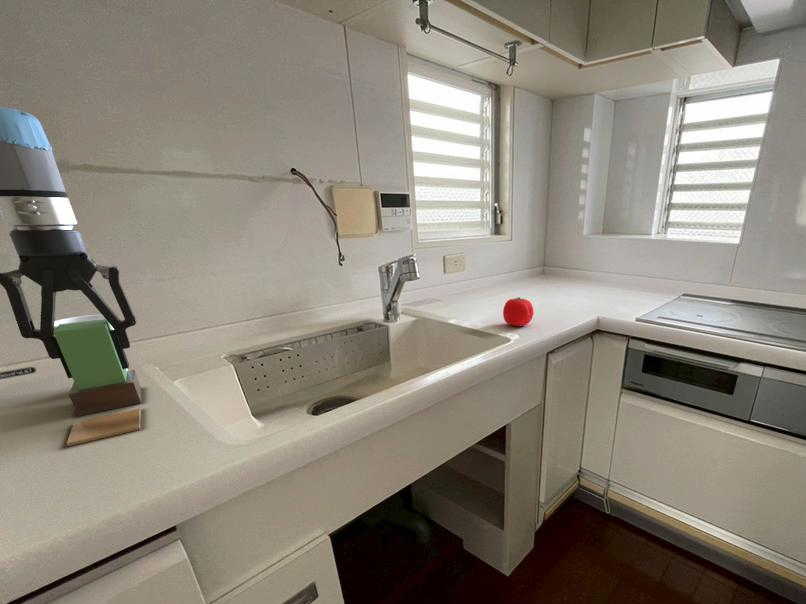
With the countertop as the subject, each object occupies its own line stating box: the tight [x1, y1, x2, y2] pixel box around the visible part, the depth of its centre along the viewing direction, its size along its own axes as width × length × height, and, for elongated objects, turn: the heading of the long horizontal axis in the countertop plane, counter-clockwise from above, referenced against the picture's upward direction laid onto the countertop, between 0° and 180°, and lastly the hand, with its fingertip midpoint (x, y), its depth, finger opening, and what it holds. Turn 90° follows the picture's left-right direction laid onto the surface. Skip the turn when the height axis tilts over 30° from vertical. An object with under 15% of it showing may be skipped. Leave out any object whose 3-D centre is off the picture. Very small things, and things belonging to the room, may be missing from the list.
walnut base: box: [68, 369, 142, 417], centre depth 71 cm, size 8×8×4 cm
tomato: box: [502, 297, 535, 327], centre depth 122 cm, size 9×10×8 cm
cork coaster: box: [66, 408, 142, 447], centre depth 63 cm, size 8×8×1 cm
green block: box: [54, 319, 127, 391], centre depth 68 cm, size 6×6×10 cm
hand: (100, 370), depth 69 cm, fingers open, 6 cm apart
